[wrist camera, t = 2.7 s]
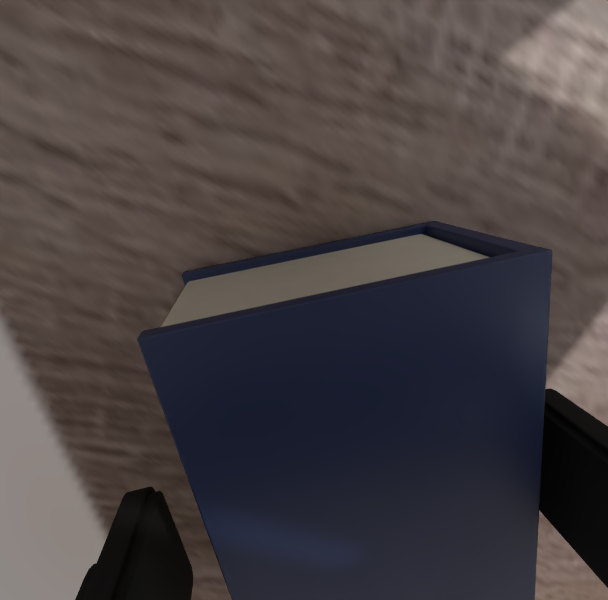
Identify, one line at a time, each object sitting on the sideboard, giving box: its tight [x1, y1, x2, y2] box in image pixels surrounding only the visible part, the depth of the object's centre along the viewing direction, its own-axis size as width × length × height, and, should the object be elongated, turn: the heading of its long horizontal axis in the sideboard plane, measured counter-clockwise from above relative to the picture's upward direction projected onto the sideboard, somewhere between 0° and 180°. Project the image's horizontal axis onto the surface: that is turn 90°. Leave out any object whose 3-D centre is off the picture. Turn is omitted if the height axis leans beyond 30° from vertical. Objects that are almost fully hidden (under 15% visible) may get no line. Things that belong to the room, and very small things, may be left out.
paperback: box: [137, 221, 552, 600], centre depth 9 cm, size 11×6×4 cm, turn 10°
